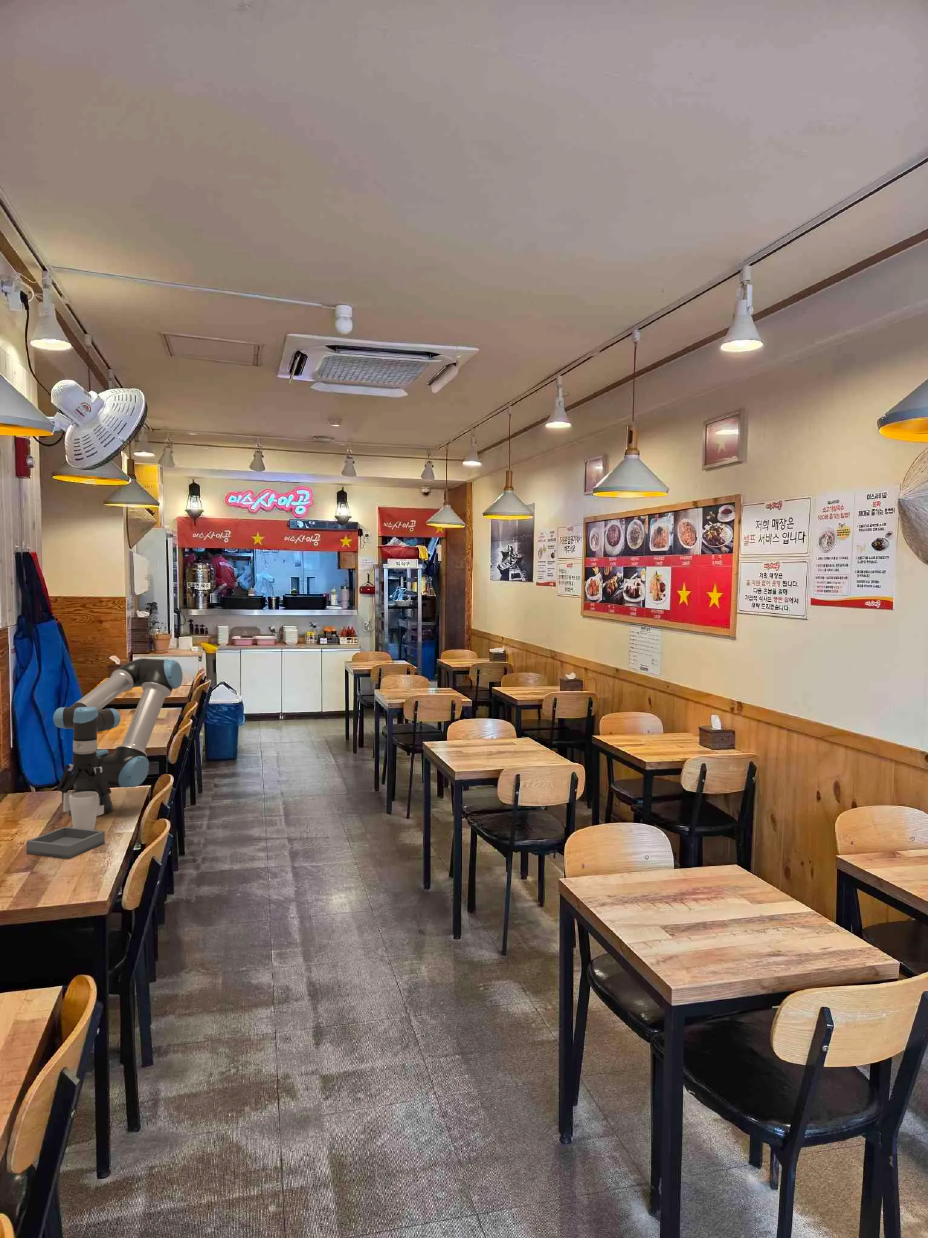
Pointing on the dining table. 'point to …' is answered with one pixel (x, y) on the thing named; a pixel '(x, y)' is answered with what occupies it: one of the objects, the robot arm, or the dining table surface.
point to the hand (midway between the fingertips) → (83, 812)
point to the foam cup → (83, 809)
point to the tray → (65, 842)
